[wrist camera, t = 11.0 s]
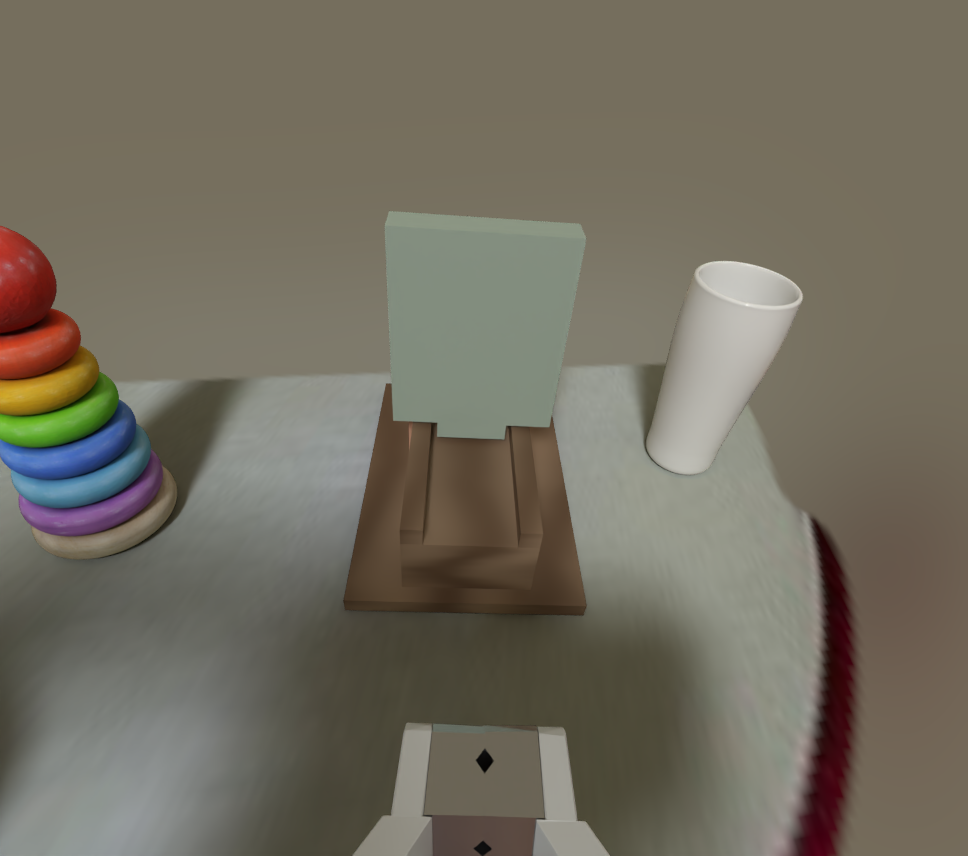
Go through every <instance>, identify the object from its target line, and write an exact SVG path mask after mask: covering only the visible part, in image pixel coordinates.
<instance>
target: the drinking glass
mask: <svg viewBox="0 0 968 856" xmlns="http://www.w3.org/2000/svg"><path fill="white" fill-rule="evenodd" d="M802 299H803V295H802V292H801V290H800V288H799V287H798V286H797V285H796V284H795V283H794V282H792V281H791V280H789V279H788V278H786V277H784V276H783V275H780V274H778V273H776V272H774V271H771V270H769V269H766V268H763V267H759V266H756V265H752V264H747V263H741V262H733V261H715V262H709V263H706V264H703V265H701V266H699V267H698V268H697V269H696V271H695V272H694V275H693V278H692V280H691V283H690V285H689V288H688V290H687V293H686V295H685V298H684V301H683V304H682V307H681V309H680V313H679V316H678V319H677V323H676V326H675V329H674V333H673V337H672V341H671V345H670V349H669V354H668V358H667V362H666V367H665V371H664V375H663V379H662V384H661V388H660V392H659V396H658V400H657V404H656V408H655V413H654V417H653V420H652V424H651V427H650V430H649V433H648V436H647V439H646V448H647V451H648V454H649V455H650V457H651V458H652V459H653V460H654V461H655V462H656V463H657V464H658V465H659V466H661V467H663V468H664V469H666V470H668V471H671V472H674V473H677V474H682V475H695V474H699V473H702V472H704V471H706V470H707V469H708V468H709V467H710V466H711V465H712V463H713V462H714V460H715V458H716V455H717V453H718V451H719V449H720V447H721V446H722V444H723V442H724V441H725V439H726V437H727V436H728V434H729V432H730V431H731V429H732V427H733V426H734V424H735V423H736V421H737V419H738V418H739V416H740V414H741V413H742V411H743V410H744V408H745V406H746V405H747V403H748V401H749V400H750V398H751V397H752V395H753V393H754V392H755V390H756V388H757V387H758V385H759V384H760V382H761V380H762V379H763V377H764V376H765V374H766V372H767V371H768V369H769V367H770V366H771V364H772V362H773V361H774V359H775V357H776V355H777V354H778V352H779V350H780V348H781V346H782V344H783V342H784V340H785V338H786V336H787V334H788V332H789V329H790V328H791V325H792V323H793V321H794V319H795V316H796V314H797V312H798V309H799V307H800V304H801V302H802Z"/></svg>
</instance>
